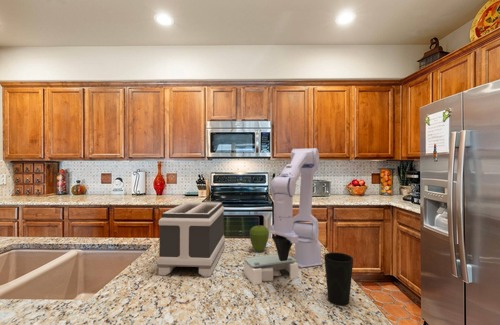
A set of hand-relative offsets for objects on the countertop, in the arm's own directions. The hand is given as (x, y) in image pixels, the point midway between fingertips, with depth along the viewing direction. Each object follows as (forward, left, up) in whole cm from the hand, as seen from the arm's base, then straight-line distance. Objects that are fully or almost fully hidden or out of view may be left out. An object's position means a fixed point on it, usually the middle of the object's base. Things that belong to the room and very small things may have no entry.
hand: (283, 260), depth 80 cm
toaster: (+21, -34, -9) cm, 41 cm away
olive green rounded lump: (-6, -34, -9) cm, 35 cm away
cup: (-11, +12, -9) cm, 18 cm away
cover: (0, -10, -3) cm, 10 cm away
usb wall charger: (+1, -7, -9) cm, 11 cm away
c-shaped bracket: (0, -9, -8) cm, 12 cm away
